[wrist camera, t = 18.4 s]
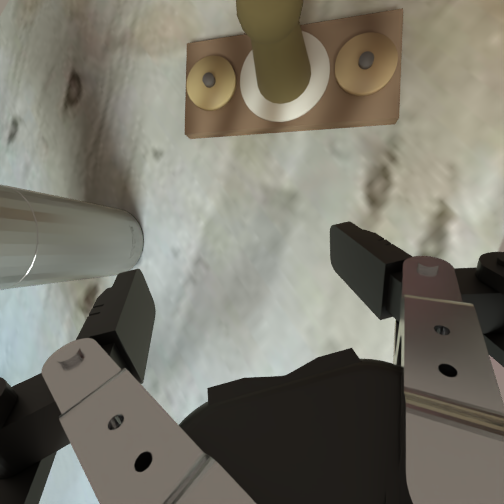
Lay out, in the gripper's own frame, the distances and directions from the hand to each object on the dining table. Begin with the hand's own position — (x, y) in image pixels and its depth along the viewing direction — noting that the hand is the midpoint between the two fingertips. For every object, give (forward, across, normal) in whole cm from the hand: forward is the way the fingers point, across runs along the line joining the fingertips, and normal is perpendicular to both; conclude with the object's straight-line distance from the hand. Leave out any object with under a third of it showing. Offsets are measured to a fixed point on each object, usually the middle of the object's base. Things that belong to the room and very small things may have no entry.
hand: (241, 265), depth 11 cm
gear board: (+26, -11, -7) cm, 29 cm away
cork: (+25, -10, -8) cm, 28 cm away
